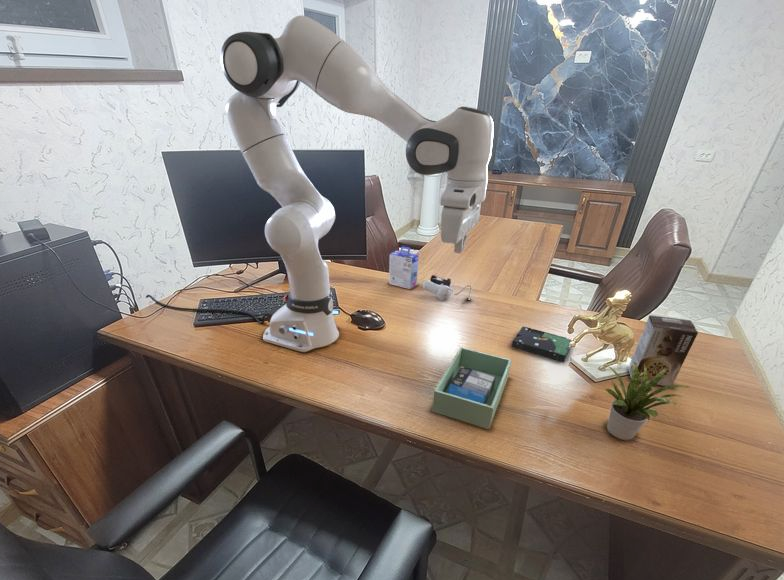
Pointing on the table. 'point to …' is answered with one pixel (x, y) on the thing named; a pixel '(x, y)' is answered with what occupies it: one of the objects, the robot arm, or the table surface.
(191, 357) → the table surface
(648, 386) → the house plant
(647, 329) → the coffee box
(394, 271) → the ink cartridge box
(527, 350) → the disk drive
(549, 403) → the table surface
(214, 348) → the table surface
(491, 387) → the tape cartridge
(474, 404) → the bin
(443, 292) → the clip-on lamp
